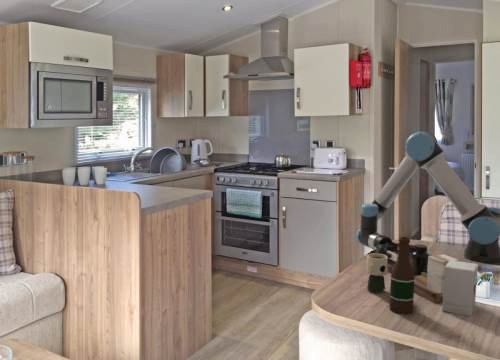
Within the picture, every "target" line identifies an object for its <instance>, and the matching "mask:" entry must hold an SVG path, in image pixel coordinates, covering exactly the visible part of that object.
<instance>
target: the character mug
mask: <svg viewBox="0 0 500 360" xmlns="http://www.w3.org/2000/svg"><path fill="white" fill-rule="evenodd" d="M388 259H389V258H388V257H387V256H386V255H383V254H377V253H376V252H373V253H369V254H367V256H366V273H367V274H369V276H368V281H367V287H366V289H367V290H368V291H371V292H373V293H376V294H377V293H381V294H382V293H385V290H386V287H385V286H386V285H385V277H384V276H387V273H388Z"/></svg>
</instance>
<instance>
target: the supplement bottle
mask: <svg viewBox="0 0 500 360" xmlns="http://www.w3.org/2000/svg"><path fill="white" fill-rule="evenodd" d="M414 250H415V251H414V252H412V253H410V263H411V265H412V266H413V269H414V276H420V275H421V272H425V273H427V268H428V256H430V254H429V253H428V246H427V245H425V244H414Z"/></svg>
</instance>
